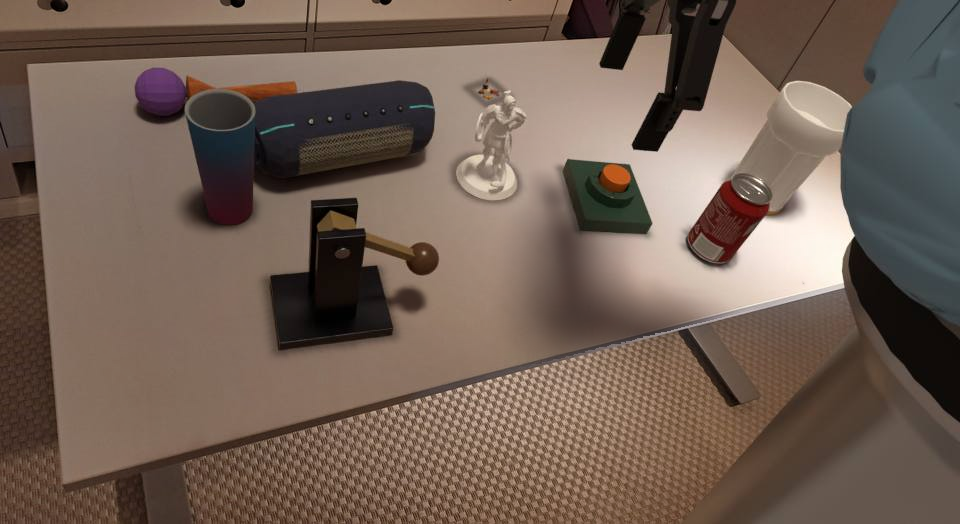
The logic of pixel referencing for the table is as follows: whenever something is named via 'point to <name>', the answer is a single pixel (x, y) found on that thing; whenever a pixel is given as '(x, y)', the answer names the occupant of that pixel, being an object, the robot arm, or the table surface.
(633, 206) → the button box
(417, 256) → the switch lever
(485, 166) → the figurine
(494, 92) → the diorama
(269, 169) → the portable speaker
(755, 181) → the soda can
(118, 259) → the table surface
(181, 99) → the kendama
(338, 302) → the switch bracket
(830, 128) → the cup
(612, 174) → the button
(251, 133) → the cup
